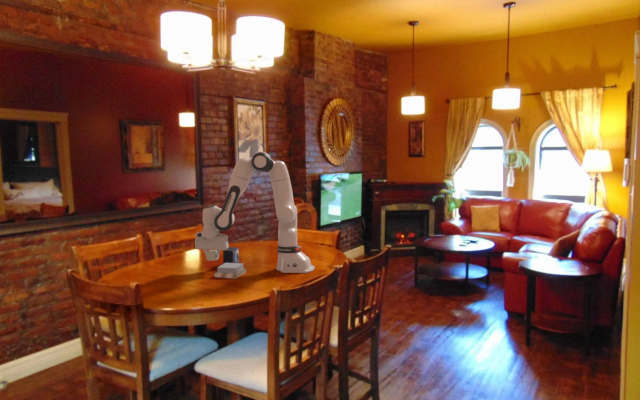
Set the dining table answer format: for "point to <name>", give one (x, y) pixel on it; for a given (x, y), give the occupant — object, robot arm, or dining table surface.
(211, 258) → the beige block
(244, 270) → the bottom slab
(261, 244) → the dining table surface
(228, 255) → the small box
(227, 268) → the top slab
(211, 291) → the dining table surface
